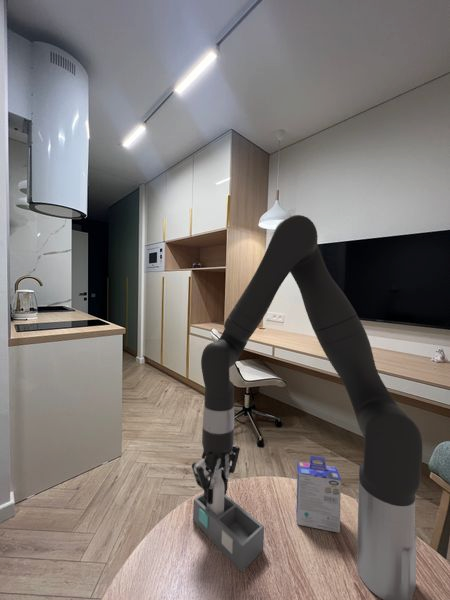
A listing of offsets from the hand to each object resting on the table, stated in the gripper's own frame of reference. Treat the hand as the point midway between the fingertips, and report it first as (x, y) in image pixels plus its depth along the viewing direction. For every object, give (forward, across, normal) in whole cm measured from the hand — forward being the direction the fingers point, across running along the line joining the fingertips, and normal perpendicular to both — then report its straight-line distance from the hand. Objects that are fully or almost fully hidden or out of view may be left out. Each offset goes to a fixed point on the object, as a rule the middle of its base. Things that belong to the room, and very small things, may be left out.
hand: (215, 497), depth 60 cm
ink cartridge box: (+6, +19, -16) cm, 26 cm away
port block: (+6, 0, -4) cm, 7 cm away
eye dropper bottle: (+4, 0, 0) cm, 4 cm away
